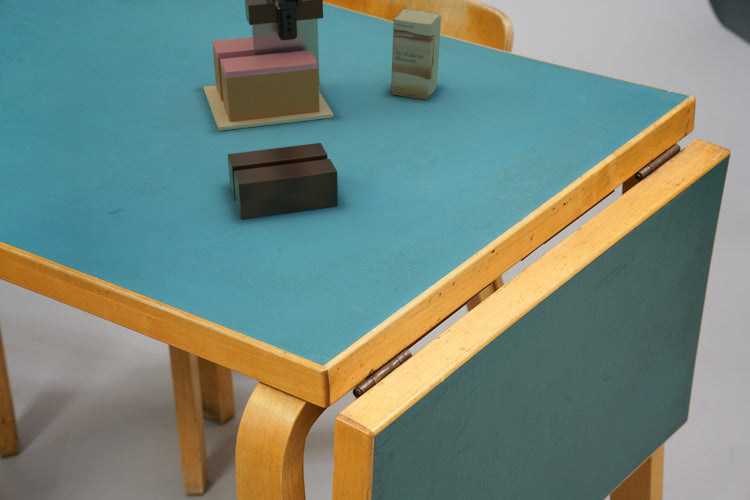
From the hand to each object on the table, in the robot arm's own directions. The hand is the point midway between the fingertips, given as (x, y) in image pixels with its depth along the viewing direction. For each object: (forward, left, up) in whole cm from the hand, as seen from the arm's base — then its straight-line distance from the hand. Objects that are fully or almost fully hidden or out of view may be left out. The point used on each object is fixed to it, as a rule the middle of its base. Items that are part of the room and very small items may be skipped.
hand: (285, 34), depth 119 cm
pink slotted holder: (-3, 0, -9) cm, 9 cm away
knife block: (-6, -25, -9) cm, 27 cm away
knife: (0, 0, -7) cm, 7 cm away
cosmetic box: (+16, -2, -9) cm, 19 cm away
